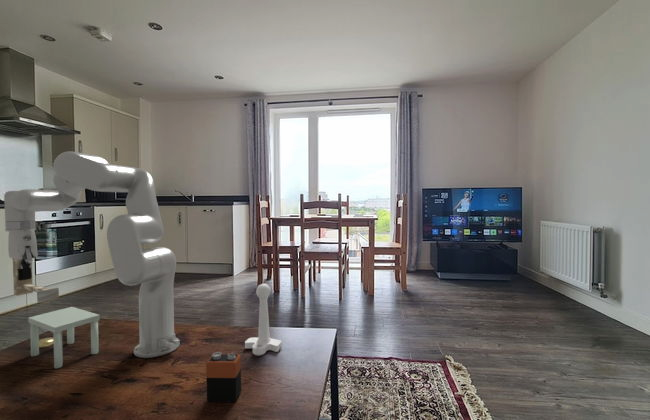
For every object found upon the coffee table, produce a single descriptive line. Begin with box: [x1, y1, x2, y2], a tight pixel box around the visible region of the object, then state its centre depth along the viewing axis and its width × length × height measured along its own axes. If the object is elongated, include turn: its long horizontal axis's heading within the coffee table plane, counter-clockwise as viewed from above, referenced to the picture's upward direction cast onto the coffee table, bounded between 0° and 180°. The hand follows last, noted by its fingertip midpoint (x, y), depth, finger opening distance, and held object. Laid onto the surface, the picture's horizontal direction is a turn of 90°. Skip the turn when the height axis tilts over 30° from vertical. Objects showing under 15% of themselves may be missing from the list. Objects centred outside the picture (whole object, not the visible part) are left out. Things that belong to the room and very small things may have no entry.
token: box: [39, 337, 54, 349], centre depth 100 cm, size 5×5×2 cm
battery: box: [205, 351, 242, 403], centre depth 71 cm, size 4×7×10 cm, turn 88°
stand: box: [27, 306, 101, 369], centre depth 93 cm, size 17×11×12 cm, turn 62°
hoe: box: [12, 255, 60, 304], centre depth 103 cm, size 21×5×14 cm, turn 62°
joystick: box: [244, 283, 283, 356], centre depth 94 cm, size 11×8×20 cm
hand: (22, 278), depth 107 cm, fingers closed on hoe, 3 cm apart
